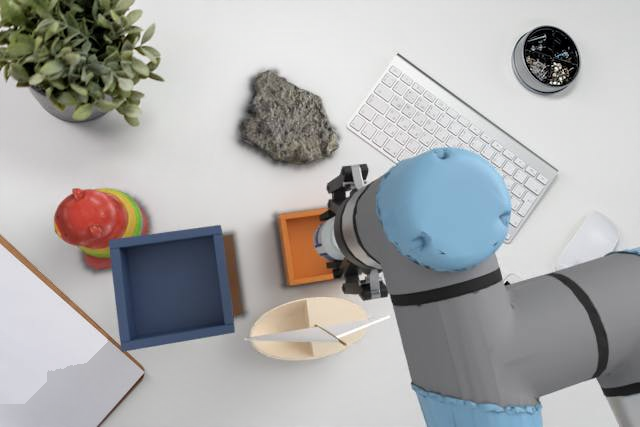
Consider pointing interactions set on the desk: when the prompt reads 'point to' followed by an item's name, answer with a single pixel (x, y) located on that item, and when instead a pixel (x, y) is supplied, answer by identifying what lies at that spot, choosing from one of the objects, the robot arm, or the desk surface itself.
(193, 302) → the slate bin
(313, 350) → the toy sailboat
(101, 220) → the stacking bear
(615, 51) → the desk surface
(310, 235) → the amber bin
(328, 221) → the pill bottle
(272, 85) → the stone slab
